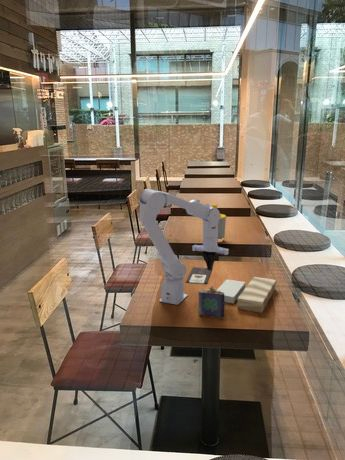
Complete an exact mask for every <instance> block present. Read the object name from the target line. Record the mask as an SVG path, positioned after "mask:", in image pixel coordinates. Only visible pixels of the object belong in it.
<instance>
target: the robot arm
mask: <svg viewBox="0 0 345 460" xmlns="http://www.w3.org/2000/svg"><path fill="white" fill-rule="evenodd" d="M138 203H139V220H140V223H141V224H142V226H143V228H144V230H145V231H146V234H147V235H148V237H149V238H150V241H151V242H152V244H153V246H154V247H155V250H156V252H157V253H158V255H159V256H160V259H159V260H160V263H161V268H162V270H163V271H164V281H163V282H162V284H161V285H160V299H159V300H158V301H159V302H161V303H166V304H170V305H171V304H172V305H175V306H176V305H177V306H178V305H179V304H180V303H181V302H182V301H183V300H185V299H186V298H187V297H188V294H187V293H185V291H184V289H185V288H184V282H185V281H184V277H185V276H186V275H187V274H186V273H187V267H186V265H185V264H184V263H182V262H181V261H180V259H179V257H177V255H176V254H175V252H174V251H173V249H172V248H171V247H172V246H171V245H170V244H169V242H168V240H167V238H166V237H165V233H163V231H162V228H161V226H160V225H159V223H158V221H157V217H158V215H159V213H161V211H162V210H163V208H164V207H168V206H169V205H172V206H176V207H178V208H182V209H183V210H185V211H186V213H187V215H190V216H193V217H196V218H199V219H200V220H201V219H202V244H199V245H198V244H194V245H192V246H191V247H192V251H193V252H195V251H197V252H202V254H201V256H202V257H203V260H204V262H205V264H206V268H207V269H208V270H213V267H214V264H215V261H216V258H217V257H218V255H219V254H221V255H225V256H227V255H229V248H225V247H220V246H218V243H217V241H218V221H219V220H220V217H221V214H222V213H221V212H220V210H219V209H218V208H217V209H216V208H214V207H213V206H211V205H210V203H203V202H201V200H200V199H198V198H197V199H196V198H195V199H191V200H186V199H183V198H181V197H179V196H177V195H174V194H172V193H169V192H165V191H162V190H161V191H160V190H155V189H153V188H145V189H144V190H143V191H142V192H141V193H140V196H139V198H138Z"/></svg>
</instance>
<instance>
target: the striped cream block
mask: <svg viewBox="0 0 345 460" xmlns="http://www.w3.org/2000/svg"><path fill="white" fill-rule="evenodd" d="M276 285H277V280H276V279H271V278H265V277H258V276H253V277H252V278H251V279H250V281H249V282H248V284H247V285H245V289H244V290H243V292H242V293H241V294H240V296H239V297H238V298H237V306H236V307H237V309H238V310H245V311H248V312H249V311H250V312H255V313H260V314H262V313H263V311H264V310H265V308H266V307H267V305H268V303H269V301H270V300H271V298H272V296H273V294H274V292H275V291H276V288H277V287H276Z"/></svg>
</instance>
